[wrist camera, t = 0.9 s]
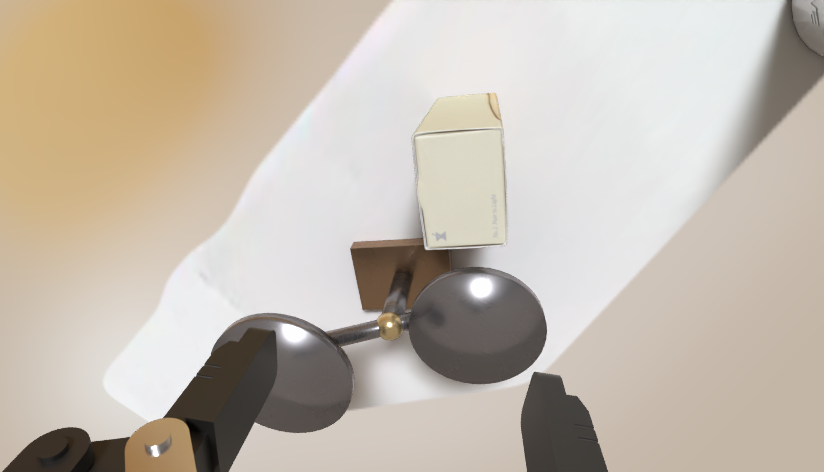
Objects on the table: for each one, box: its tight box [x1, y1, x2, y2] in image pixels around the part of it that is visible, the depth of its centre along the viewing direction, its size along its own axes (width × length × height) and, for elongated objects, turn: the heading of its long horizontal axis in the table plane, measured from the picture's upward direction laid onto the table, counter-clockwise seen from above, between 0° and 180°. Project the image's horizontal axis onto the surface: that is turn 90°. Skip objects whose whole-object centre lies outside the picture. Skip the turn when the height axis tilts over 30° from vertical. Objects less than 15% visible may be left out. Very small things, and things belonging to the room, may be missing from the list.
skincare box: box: [412, 93, 507, 250], centre depth 27 cm, size 6×4×12 cm
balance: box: [211, 238, 547, 433], centre depth 32 cm, size 21×9×13 cm, turn 97°
